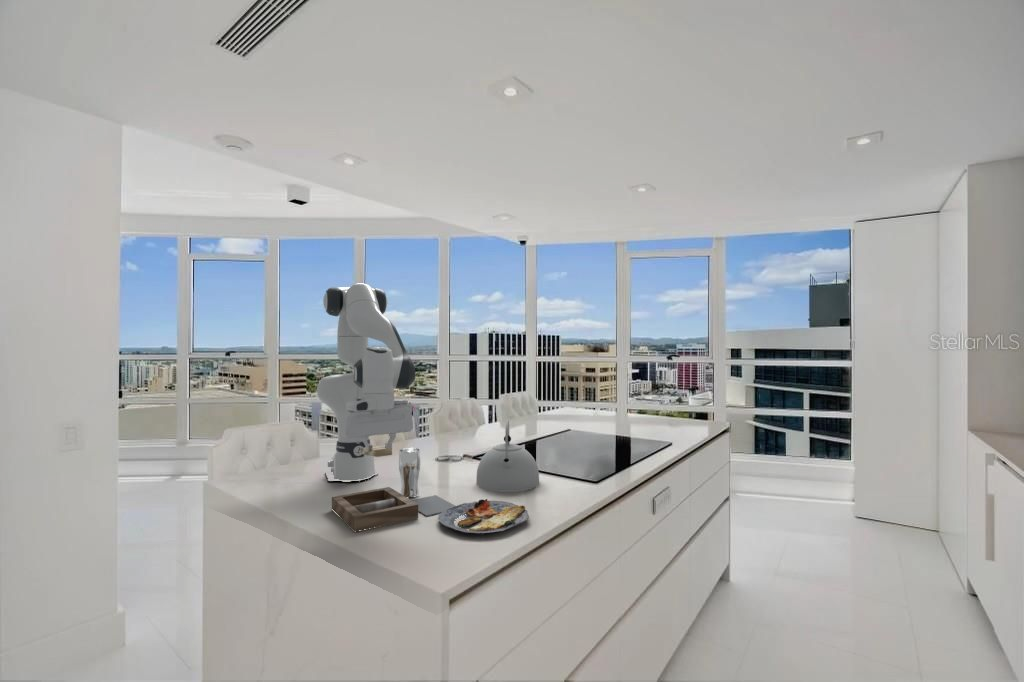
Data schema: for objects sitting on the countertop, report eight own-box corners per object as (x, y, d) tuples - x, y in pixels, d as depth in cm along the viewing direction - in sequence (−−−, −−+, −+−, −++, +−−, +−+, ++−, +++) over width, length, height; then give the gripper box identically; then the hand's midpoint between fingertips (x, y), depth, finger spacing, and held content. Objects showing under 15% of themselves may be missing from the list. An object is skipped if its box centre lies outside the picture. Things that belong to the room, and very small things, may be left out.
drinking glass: (399, 499, 158) (399, 452, 159) (398, 493, 165) (398, 448, 165) (421, 497, 160) (421, 451, 161) (419, 491, 167) (419, 447, 167)
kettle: (540, 494, 164) (540, 426, 164) (472, 494, 164) (471, 426, 164) (538, 474, 189) (538, 415, 189) (479, 474, 189) (478, 415, 189)
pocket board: (331, 510, 148) (331, 497, 148) (389, 499, 159) (389, 486, 159) (355, 532, 130) (355, 517, 130) (418, 518, 141) (418, 504, 141)
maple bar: (360, 453, 150) (360, 447, 150) (375, 452, 152) (374, 446, 152) (377, 457, 138) (376, 450, 138) (392, 454, 141) (391, 448, 141)
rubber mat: (404, 502, 155) (404, 501, 155) (435, 496, 162) (435, 495, 162) (426, 516, 142) (426, 515, 142) (459, 509, 149) (459, 507, 149)
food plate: (484, 501, 155) (483, 490, 155) (544, 518, 141) (544, 506, 141) (422, 526, 136) (422, 513, 136) (485, 549, 121) (484, 534, 121)
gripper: (408, 399, 152) (408, 444, 152) (340, 403, 140) (340, 452, 140) (416, 400, 147) (416, 447, 147) (346, 405, 135) (347, 456, 135)
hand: (378, 450), depth 143 cm, fingers closed on maple bar, 4 cm apart
